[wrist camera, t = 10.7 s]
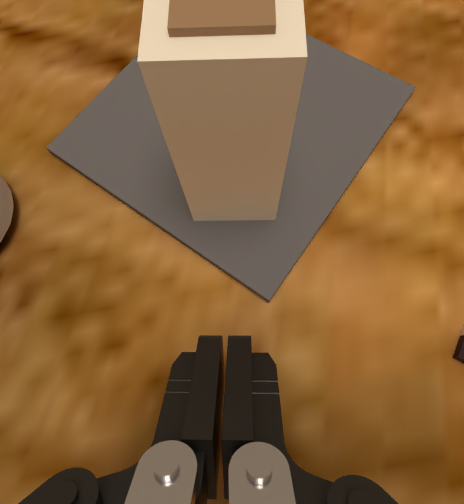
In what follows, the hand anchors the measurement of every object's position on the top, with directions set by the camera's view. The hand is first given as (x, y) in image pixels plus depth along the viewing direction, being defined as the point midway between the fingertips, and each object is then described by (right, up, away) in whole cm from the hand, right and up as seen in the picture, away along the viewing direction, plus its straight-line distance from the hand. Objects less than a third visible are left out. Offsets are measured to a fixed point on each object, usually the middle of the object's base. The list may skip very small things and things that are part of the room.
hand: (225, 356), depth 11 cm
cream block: (0, +8, +11) cm, 14 cm away
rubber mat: (0, +12, +13) cm, 18 cm away
